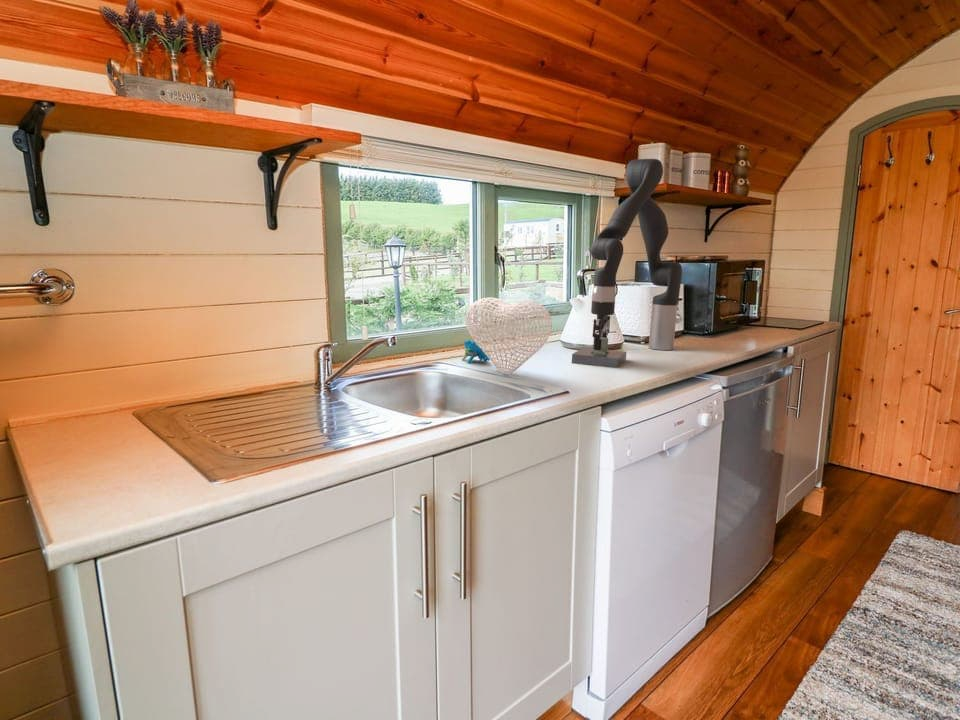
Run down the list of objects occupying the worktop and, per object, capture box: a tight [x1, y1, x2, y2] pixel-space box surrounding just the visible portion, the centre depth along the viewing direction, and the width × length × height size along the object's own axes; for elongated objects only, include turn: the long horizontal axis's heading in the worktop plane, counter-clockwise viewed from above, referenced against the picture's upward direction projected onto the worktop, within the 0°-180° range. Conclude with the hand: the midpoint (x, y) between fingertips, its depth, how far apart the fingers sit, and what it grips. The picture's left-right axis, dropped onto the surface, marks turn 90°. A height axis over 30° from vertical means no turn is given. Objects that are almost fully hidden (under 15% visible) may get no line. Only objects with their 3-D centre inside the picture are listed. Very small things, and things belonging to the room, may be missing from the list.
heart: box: [465, 296, 553, 375], centre depth 171 cm, size 28×16×22 cm, turn 47°
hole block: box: [571, 347, 627, 369], centre depth 196 cm, size 15×15×3 cm
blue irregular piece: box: [461, 339, 490, 364], centre depth 189 cm, size 11×6×10 cm
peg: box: [592, 337, 609, 355], centre depth 196 cm, size 4×4×8 cm
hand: (600, 348), depth 196 cm, fingers open, 8 cm apart
